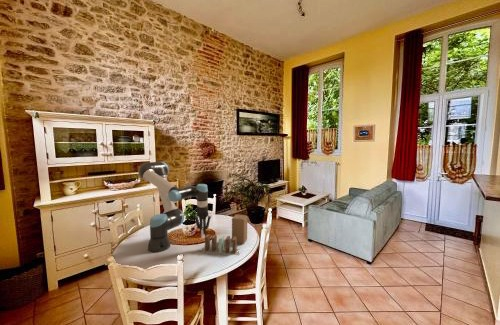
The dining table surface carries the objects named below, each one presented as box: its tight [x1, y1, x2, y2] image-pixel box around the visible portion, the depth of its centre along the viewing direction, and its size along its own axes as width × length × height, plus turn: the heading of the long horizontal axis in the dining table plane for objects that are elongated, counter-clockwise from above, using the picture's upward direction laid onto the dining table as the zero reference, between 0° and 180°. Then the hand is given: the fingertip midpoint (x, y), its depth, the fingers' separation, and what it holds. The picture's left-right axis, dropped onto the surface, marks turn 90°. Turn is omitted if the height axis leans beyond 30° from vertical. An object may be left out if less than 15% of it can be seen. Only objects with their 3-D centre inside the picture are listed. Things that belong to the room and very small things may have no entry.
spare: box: [218, 235, 225, 252], centre depth 150 cm, size 2×5×10 cm, turn 171°
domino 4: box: [231, 237, 238, 254], centre depth 149 cm, size 2×5×10 cm, turn 171°
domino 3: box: [224, 235, 231, 253], centre depth 150 cm, size 2×5×10 cm, turn 171°
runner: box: [200, 245, 241, 256], centre depth 151 cm, size 28×8×1 cm, turn 81°
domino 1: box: [204, 233, 211, 251], centre depth 152 cm, size 2×5×10 cm, turn 171°
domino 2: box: [211, 234, 218, 252], centre depth 151 cm, size 2×5×10 cm, turn 171°
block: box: [231, 213, 248, 245], centre depth 165 cm, size 10×10×20 cm
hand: (203, 237), depth 152 cm, fingers closed
